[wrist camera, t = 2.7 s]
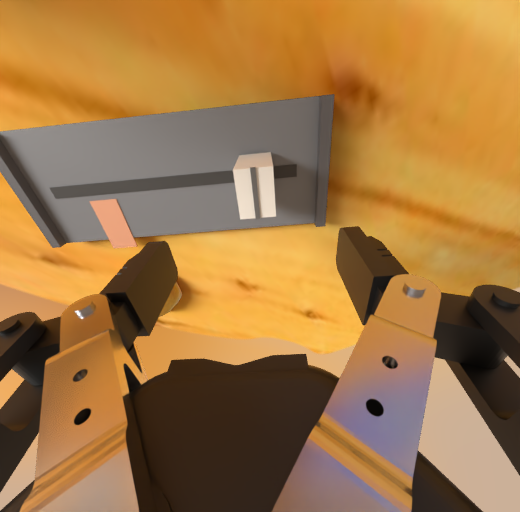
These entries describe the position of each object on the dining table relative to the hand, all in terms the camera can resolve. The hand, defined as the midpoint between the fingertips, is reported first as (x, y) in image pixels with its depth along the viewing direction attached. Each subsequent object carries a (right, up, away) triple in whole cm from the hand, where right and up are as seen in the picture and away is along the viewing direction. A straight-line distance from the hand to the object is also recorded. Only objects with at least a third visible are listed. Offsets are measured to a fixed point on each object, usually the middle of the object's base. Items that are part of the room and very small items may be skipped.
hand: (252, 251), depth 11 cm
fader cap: (0, +8, +12) cm, 14 cm away
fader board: (-9, +9, +15) cm, 19 cm away
